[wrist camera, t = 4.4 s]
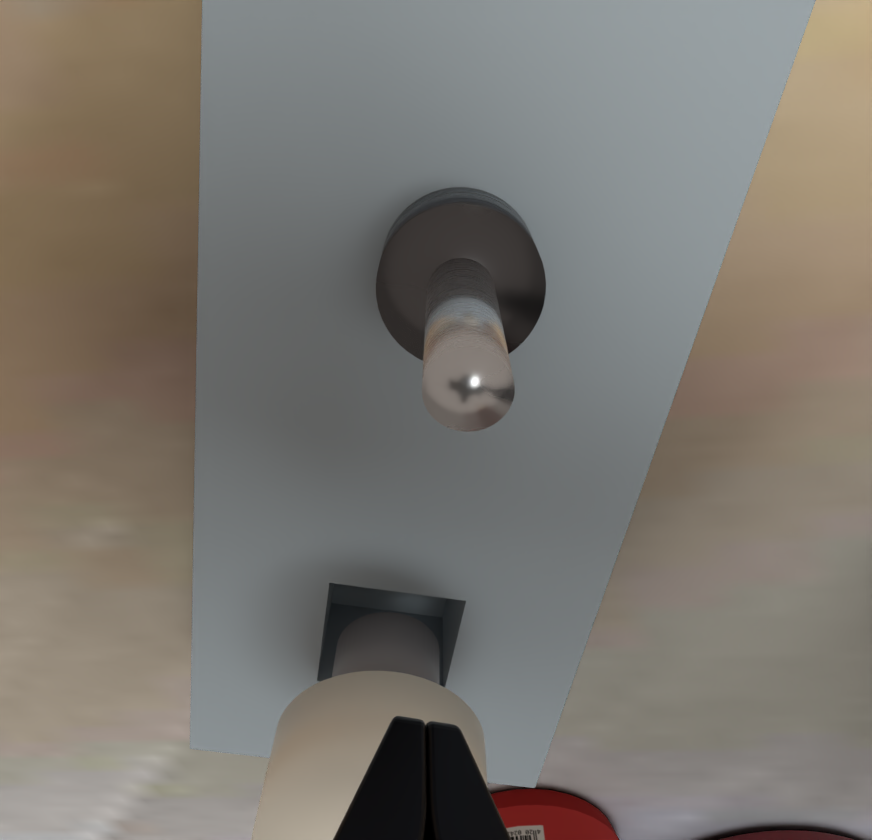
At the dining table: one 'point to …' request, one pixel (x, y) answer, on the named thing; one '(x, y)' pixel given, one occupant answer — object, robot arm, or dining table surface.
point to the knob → (354, 725)
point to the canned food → (551, 816)
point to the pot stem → (461, 300)
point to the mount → (402, 372)
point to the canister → (787, 835)
